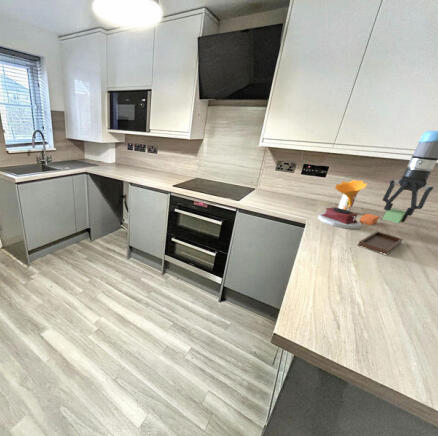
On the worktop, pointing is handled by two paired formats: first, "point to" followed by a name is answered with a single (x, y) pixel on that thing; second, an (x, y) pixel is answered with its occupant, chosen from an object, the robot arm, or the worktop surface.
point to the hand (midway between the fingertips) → (393, 219)
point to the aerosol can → (346, 202)
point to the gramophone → (344, 216)
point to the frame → (380, 242)
